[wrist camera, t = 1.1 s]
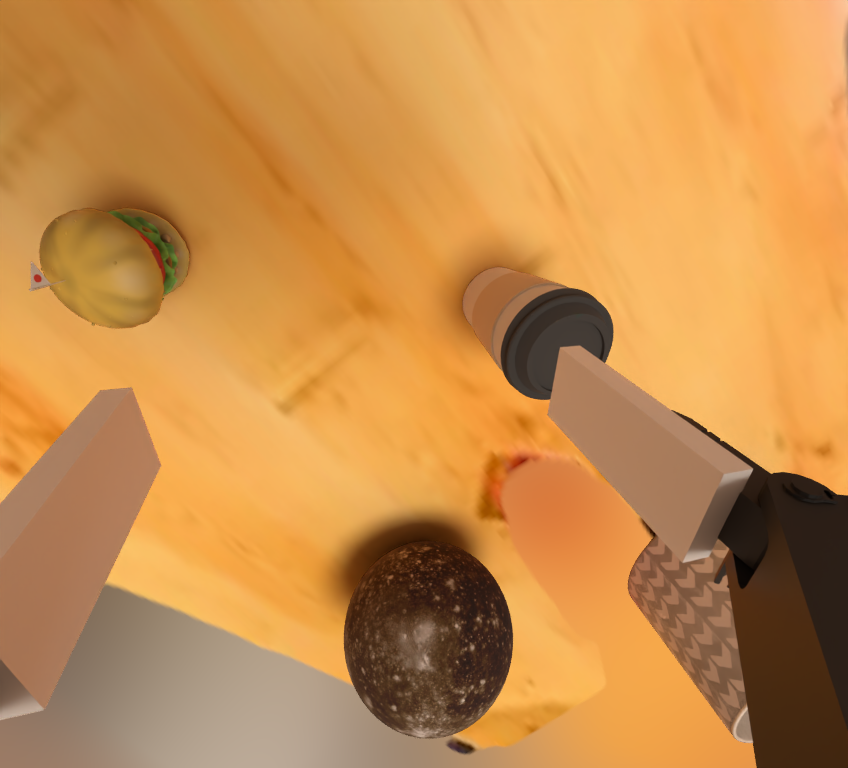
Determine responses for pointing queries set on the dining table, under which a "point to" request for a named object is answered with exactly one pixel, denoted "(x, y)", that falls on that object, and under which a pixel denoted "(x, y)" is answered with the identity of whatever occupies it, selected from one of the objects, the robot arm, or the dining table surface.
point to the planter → (695, 625)
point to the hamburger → (111, 264)
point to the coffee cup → (533, 325)
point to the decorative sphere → (428, 639)
